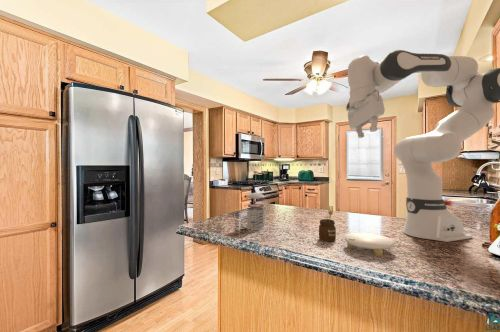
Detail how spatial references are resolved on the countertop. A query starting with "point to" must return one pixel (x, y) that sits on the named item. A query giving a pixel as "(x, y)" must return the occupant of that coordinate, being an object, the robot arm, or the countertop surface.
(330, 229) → the utensil holder
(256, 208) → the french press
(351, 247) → the leveling stand
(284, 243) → the countertop surface
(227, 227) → the countertop surface
